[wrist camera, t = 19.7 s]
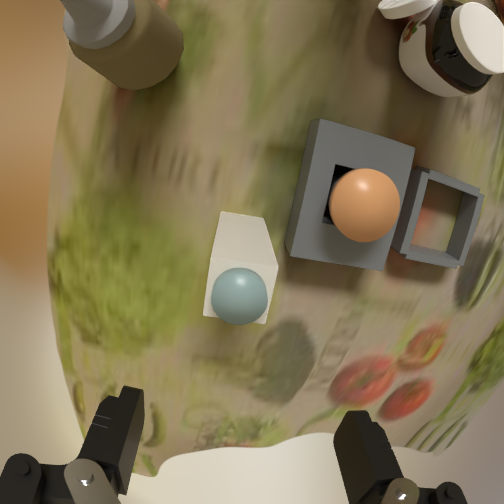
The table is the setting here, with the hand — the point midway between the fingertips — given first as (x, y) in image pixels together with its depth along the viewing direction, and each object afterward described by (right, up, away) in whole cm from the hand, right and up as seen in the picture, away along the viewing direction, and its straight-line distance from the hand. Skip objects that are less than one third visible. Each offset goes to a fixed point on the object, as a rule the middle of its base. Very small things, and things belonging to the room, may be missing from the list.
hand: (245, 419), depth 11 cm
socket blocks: (+16, +12, +22) cm, 29 cm away
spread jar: (+18, +30, +16) cm, 38 cm away
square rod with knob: (-1, +8, +23) cm, 24 cm away
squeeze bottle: (-10, +26, +16) cm, 32 cm away
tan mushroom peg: (+10, +12, +21) cm, 26 cm away
